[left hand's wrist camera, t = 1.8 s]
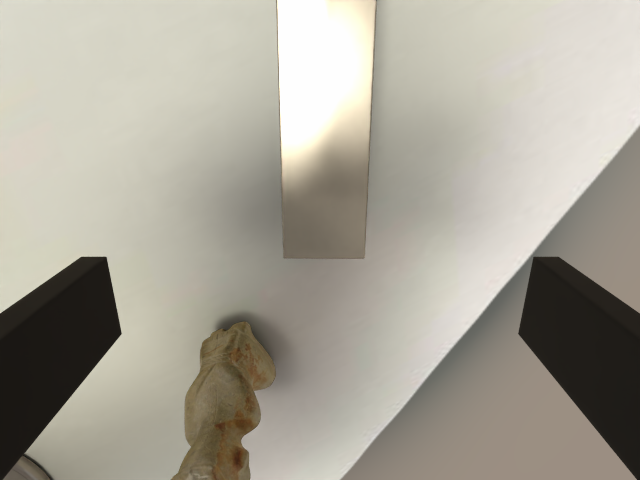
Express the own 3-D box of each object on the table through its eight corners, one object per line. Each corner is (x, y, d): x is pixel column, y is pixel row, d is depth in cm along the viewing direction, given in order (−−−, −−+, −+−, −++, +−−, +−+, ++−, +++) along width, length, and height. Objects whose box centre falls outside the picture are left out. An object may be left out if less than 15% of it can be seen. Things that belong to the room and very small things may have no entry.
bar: (353, 218, 34) (364, 259, 26) (292, 218, 34) (283, 258, 26) (367, -158, 25) (389, -275, 17) (284, -158, 25) (268, -276, 17)
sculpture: (230, 385, 39) (180, 551, 25) (198, 324, 37) (123, 469, 23) (286, 369, 39) (267, 529, 24) (257, 306, 36) (218, 443, 22)
